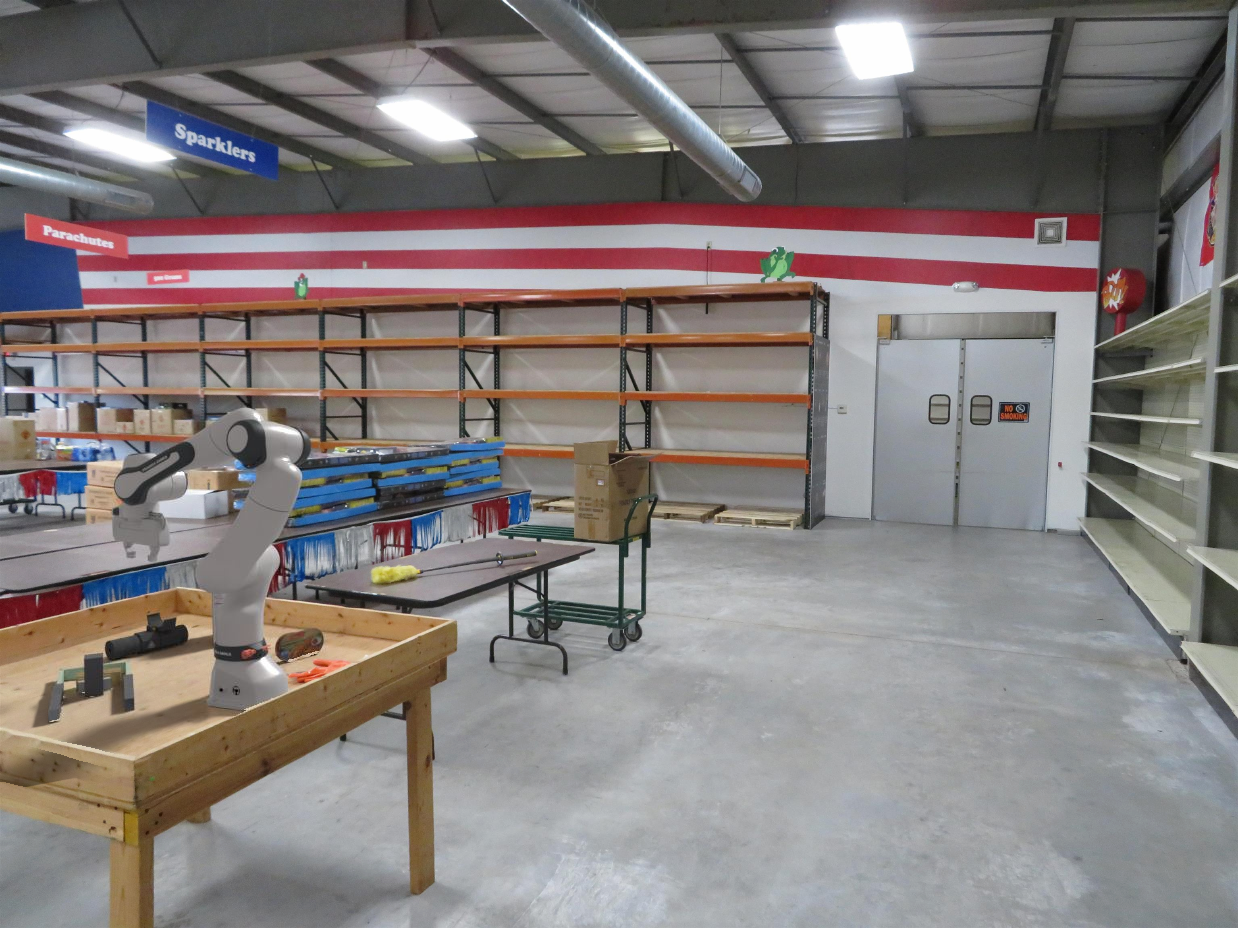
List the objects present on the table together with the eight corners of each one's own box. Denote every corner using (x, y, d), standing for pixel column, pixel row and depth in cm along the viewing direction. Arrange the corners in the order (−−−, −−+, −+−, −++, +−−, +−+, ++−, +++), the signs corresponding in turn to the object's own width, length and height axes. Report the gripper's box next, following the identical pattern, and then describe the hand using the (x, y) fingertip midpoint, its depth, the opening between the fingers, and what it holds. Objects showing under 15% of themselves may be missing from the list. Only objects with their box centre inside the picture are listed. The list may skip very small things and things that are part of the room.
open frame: (130, 685, 209) (130, 674, 209) (56, 695, 200) (56, 683, 200) (129, 670, 220) (129, 660, 220) (59, 680, 211) (59, 669, 211)
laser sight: (101, 657, 231) (100, 624, 231) (177, 639, 251) (177, 608, 250) (118, 663, 226) (118, 629, 226) (195, 645, 245) (195, 613, 245)
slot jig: (134, 709, 192) (134, 697, 192) (48, 722, 183) (48, 710, 183) (132, 684, 209) (132, 673, 209) (54, 695, 200) (54, 684, 200)
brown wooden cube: (120, 686, 208) (119, 671, 208) (102, 688, 206) (101, 673, 206) (121, 681, 212) (121, 667, 211) (103, 683, 210) (103, 669, 210)
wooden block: (95, 689, 205) (94, 674, 205) (76, 692, 203) (76, 677, 203) (95, 684, 209) (95, 670, 208) (77, 687, 207) (76, 672, 206)
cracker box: (214, 634, 257) (213, 570, 256) (234, 632, 259) (234, 569, 258) (211, 646, 244) (210, 579, 243) (232, 644, 247) (232, 578, 245)
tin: (279, 665, 228) (279, 636, 228) (273, 663, 230) (273, 634, 230) (324, 652, 241) (324, 625, 240) (318, 650, 243) (318, 624, 242)
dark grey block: (110, 694, 202) (109, 656, 202) (77, 698, 199) (76, 659, 198) (110, 687, 207) (110, 650, 206) (78, 692, 203) (77, 654, 202)
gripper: (175, 512, 218) (176, 561, 218) (129, 506, 227) (130, 554, 227) (153, 514, 212) (154, 565, 213) (107, 508, 221) (108, 557, 222)
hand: (141, 559), depth 220 cm, fingers open, 8 cm apart
